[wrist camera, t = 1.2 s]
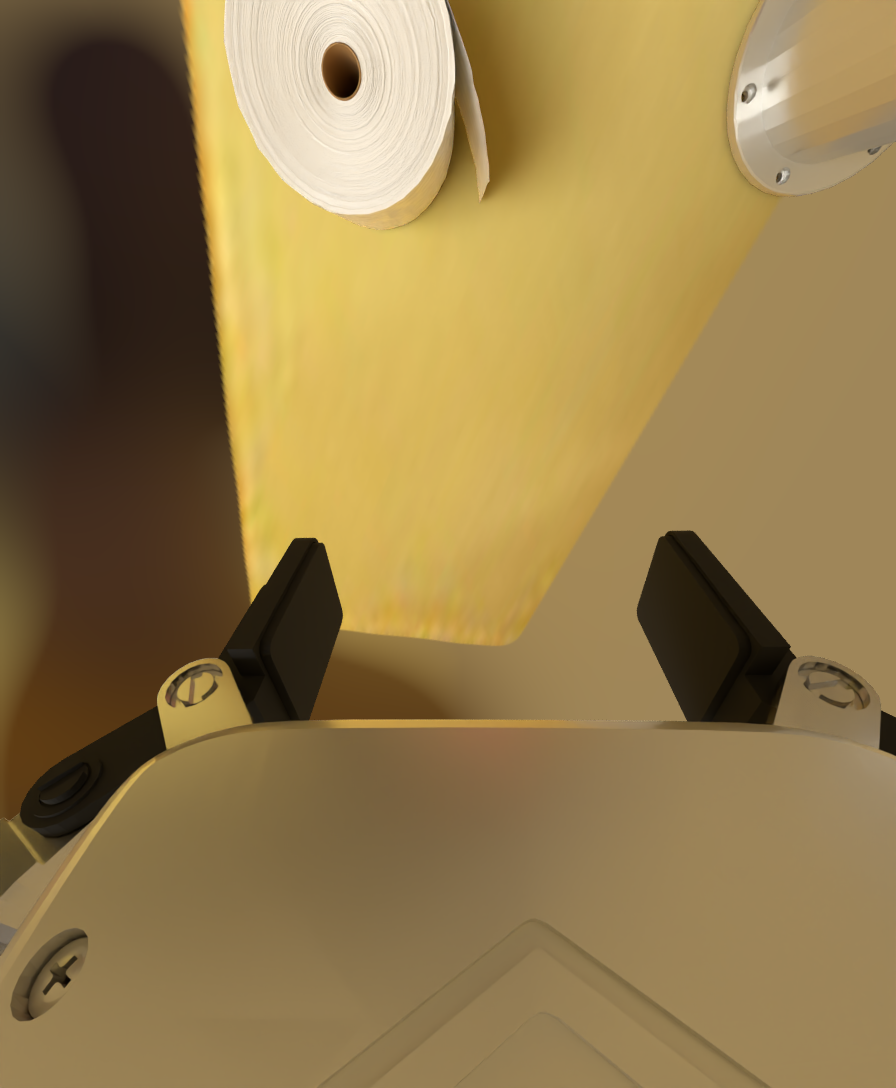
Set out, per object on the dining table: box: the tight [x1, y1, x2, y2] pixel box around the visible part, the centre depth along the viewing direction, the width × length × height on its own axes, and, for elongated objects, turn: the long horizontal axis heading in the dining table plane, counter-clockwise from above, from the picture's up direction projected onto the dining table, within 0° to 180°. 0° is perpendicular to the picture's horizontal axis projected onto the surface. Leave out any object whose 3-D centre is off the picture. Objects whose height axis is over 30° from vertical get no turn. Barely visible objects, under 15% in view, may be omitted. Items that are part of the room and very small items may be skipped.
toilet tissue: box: [224, 0, 490, 230], centre depth 23 cm, size 11×12×10 cm
